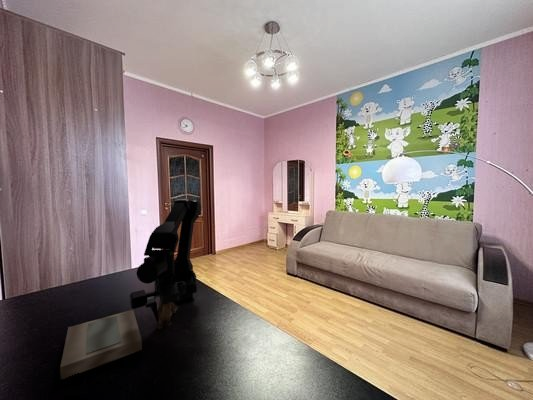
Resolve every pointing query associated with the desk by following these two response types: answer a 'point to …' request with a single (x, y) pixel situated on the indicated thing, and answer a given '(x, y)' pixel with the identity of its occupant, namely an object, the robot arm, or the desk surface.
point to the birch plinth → (100, 342)
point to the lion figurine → (166, 312)
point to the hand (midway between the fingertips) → (165, 318)
